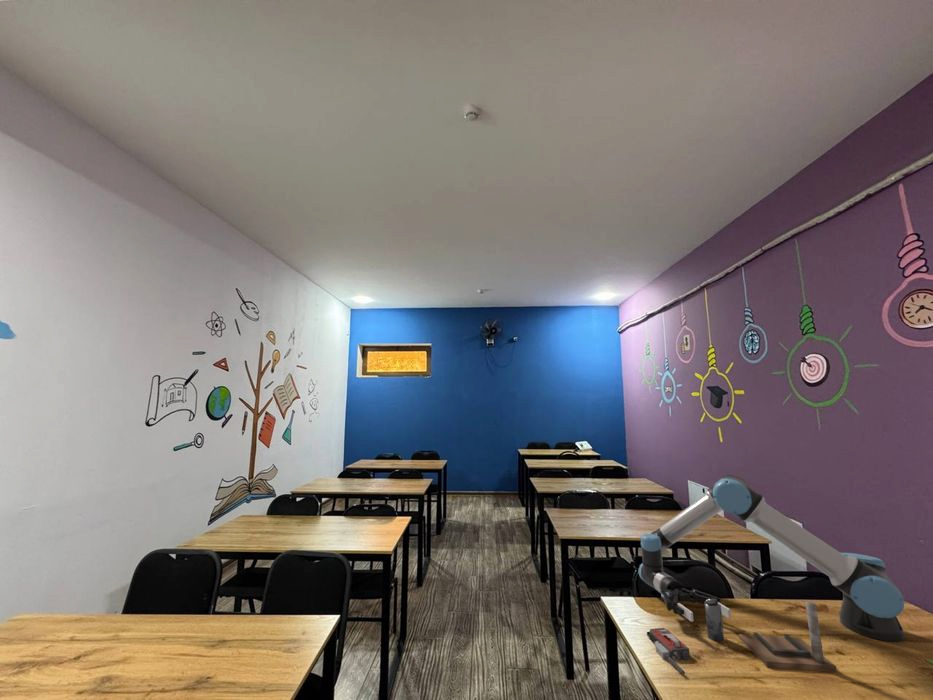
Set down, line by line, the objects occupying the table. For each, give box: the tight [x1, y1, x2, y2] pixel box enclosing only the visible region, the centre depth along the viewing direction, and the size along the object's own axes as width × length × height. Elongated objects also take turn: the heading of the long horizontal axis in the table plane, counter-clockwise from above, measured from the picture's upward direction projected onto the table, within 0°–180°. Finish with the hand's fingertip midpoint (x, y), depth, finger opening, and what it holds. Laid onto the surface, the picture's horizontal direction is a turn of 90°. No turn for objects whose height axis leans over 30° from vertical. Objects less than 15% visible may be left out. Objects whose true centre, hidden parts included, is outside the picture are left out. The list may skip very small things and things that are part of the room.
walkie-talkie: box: [646, 627, 691, 675], centre depth 117 cm, size 9×4×20 cm
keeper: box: [738, 601, 838, 673], centre depth 117 cm, size 19×14×16 cm
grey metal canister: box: [703, 599, 725, 643], centre depth 126 cm, size 5×5×12 cm
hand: (711, 615), depth 126 cm, fingers open, 13 cm apart
